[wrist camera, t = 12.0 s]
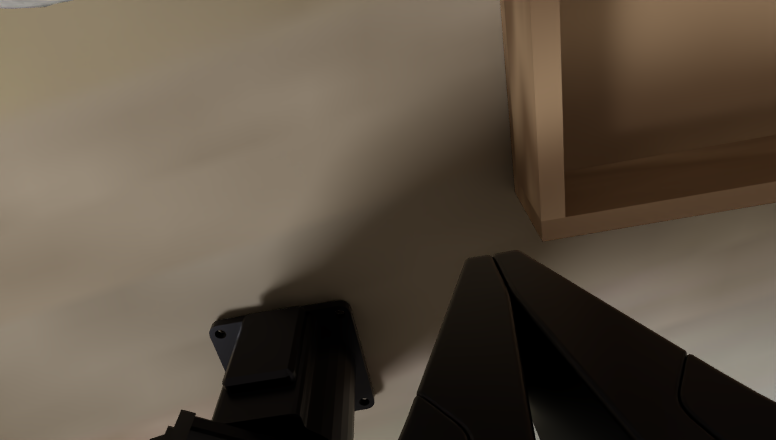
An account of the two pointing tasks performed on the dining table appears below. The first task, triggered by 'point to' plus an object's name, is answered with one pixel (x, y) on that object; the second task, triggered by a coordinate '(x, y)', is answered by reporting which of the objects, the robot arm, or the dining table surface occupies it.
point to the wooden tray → (639, 109)
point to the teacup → (28, 3)
